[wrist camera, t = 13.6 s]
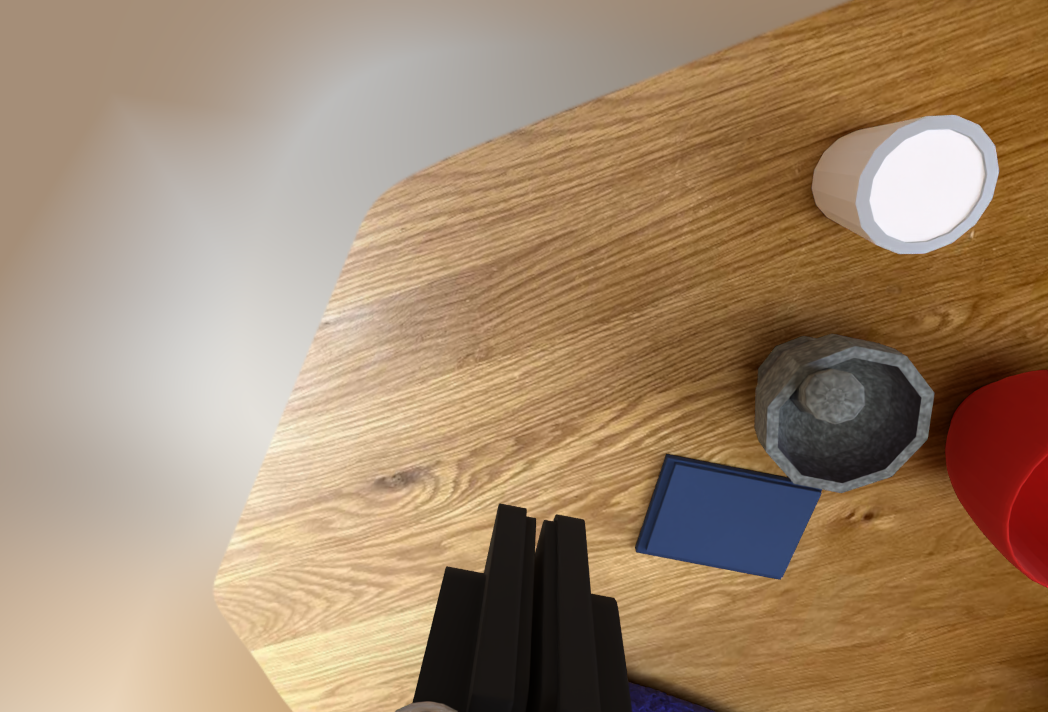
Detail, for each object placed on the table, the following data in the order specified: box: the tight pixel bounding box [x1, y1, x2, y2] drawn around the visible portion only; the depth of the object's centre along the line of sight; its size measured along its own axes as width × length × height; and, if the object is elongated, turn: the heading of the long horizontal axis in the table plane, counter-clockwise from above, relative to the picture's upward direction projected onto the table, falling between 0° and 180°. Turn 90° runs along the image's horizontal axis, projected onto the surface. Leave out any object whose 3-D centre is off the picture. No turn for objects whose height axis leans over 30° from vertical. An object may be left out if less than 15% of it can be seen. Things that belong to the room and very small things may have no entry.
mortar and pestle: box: [755, 334, 934, 493], centre depth 35 cm, size 11×9×12 cm
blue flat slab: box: [635, 454, 822, 580], centre depth 44 cm, size 12×9×1 cm
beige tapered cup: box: [812, 115, 999, 254], centre depth 32 cm, size 7×7×7 cm
